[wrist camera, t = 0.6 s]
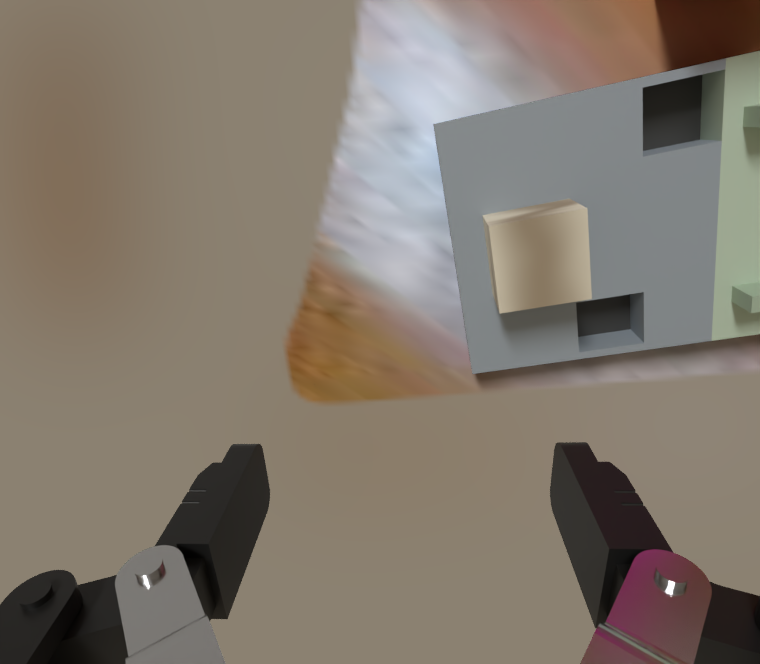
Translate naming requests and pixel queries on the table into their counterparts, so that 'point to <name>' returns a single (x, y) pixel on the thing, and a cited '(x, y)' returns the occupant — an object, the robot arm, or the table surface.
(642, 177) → the board
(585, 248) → the birch block
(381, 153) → the table surface
